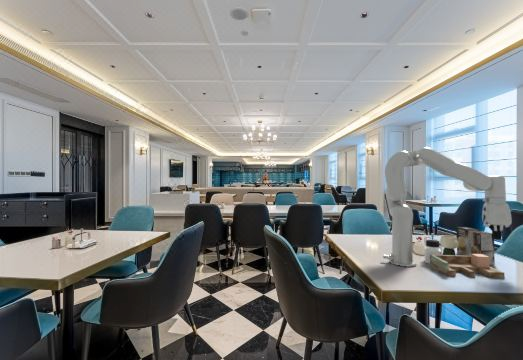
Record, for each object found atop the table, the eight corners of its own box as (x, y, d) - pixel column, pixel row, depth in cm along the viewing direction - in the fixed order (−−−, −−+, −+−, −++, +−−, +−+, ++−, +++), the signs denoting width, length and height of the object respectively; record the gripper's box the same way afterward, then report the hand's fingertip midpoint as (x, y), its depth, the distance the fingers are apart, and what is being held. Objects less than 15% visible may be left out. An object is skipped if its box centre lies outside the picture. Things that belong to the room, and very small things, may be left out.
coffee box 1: (456, 253, 156) (455, 226, 157) (466, 253, 156) (466, 226, 157) (468, 257, 147) (467, 229, 147) (479, 257, 147) (478, 229, 147)
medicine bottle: (441, 265, 133) (441, 242, 133) (425, 263, 136) (424, 240, 137) (440, 261, 139) (440, 239, 139) (424, 259, 142) (424, 238, 143)
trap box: (446, 275, 117) (445, 262, 117) (430, 266, 131) (429, 254, 131) (504, 278, 114) (504, 264, 114) (481, 268, 128) (481, 256, 128)
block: (478, 267, 122) (478, 256, 122) (471, 263, 127) (470, 253, 127) (489, 267, 121) (489, 256, 121) (482, 264, 126) (481, 254, 126)
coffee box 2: (495, 265, 133) (494, 233, 133) (481, 264, 134) (480, 233, 134) (484, 259, 142) (483, 230, 142) (470, 259, 143) (470, 230, 143)
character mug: (463, 261, 138) (463, 237, 138) (452, 262, 137) (452, 238, 137) (446, 256, 149) (445, 234, 149) (435, 257, 148) (435, 234, 148)
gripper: (483, 201, 121) (485, 240, 120) (519, 201, 119) (521, 240, 118) (473, 200, 128) (474, 237, 128) (506, 200, 126) (507, 237, 126)
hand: (496, 238), depth 123 cm, fingers closed
